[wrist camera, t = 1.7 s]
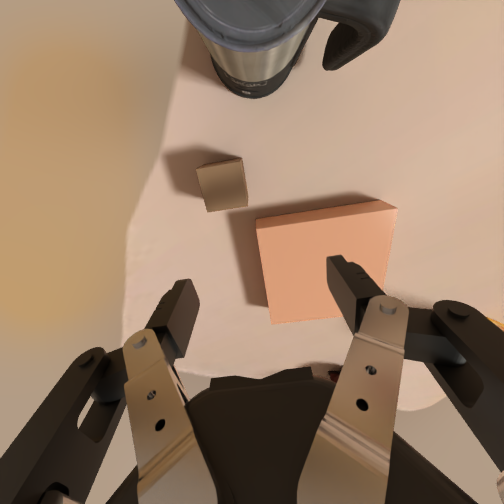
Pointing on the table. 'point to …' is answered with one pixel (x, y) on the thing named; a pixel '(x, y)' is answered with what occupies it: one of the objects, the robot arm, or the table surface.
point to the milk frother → (282, 36)
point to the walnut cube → (223, 185)
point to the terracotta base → (320, 255)
